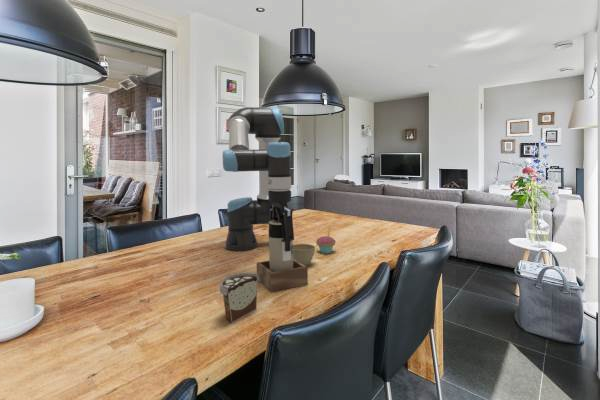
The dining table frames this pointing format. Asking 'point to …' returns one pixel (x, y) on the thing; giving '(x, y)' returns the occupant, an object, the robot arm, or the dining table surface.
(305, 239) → the dining table surface
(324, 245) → the cupcake
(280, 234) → the travel mug
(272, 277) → the open box
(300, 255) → the flower pot
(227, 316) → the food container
